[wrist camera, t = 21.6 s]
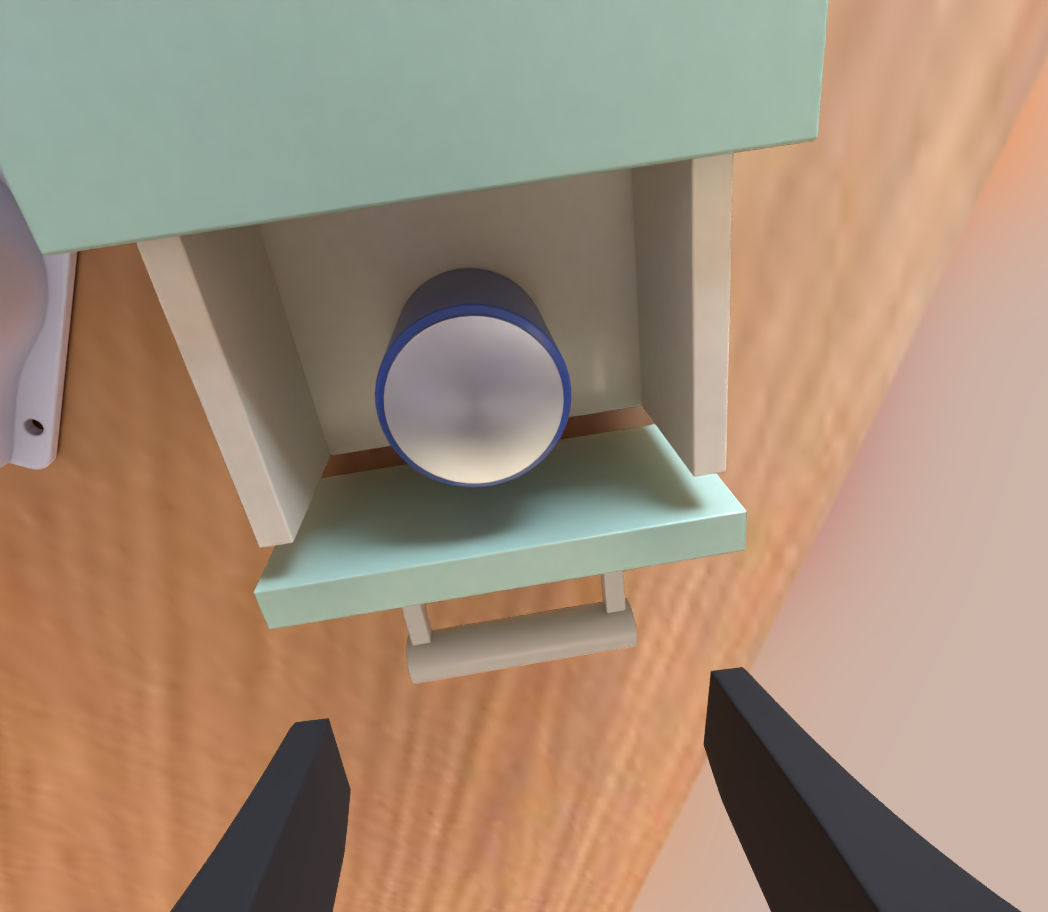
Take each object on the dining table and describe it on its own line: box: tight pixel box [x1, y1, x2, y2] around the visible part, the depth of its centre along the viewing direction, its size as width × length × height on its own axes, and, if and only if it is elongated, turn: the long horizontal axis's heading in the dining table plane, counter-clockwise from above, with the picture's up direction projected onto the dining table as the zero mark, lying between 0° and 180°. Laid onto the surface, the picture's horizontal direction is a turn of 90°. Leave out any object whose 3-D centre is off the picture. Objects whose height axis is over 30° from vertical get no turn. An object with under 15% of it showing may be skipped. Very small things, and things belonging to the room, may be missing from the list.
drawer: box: [136, 153, 747, 684], centre depth 16 cm, size 18×12×6 cm, turn 8°
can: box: [375, 268, 572, 488], centre depth 15 cm, size 4×4×4 cm
